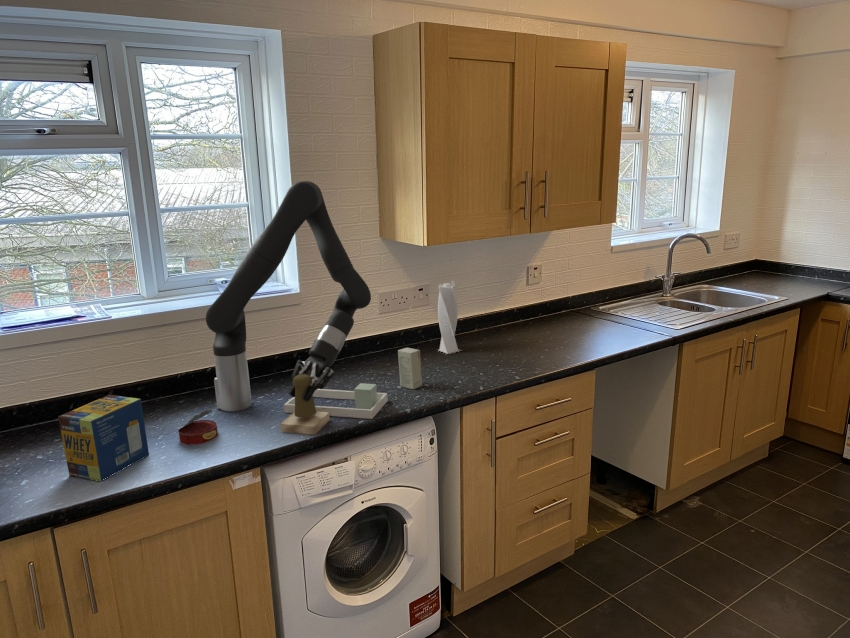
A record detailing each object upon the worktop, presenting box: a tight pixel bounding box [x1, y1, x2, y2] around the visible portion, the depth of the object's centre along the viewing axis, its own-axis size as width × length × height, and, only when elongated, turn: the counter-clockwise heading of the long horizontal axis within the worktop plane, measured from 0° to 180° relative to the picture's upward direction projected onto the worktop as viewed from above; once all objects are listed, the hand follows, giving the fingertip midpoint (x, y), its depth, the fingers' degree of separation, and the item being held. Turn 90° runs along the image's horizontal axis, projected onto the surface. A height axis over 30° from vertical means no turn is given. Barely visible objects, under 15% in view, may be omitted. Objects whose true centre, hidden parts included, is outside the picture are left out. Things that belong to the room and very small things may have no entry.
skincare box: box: [397, 347, 423, 390], centre depth 200 cm, size 6×4×12 cm
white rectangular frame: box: [283, 388, 388, 420], centre depth 186 cm, size 27×14×2 cm, turn 75°
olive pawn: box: [292, 373, 316, 417], centre depth 171 cm, size 6×6×11 cm
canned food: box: [177, 409, 219, 446], centre depth 168 cm, size 11×10×10 cm
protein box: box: [57, 394, 150, 482], centre depth 152 cm, size 10×15×16 cm
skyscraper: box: [437, 279, 463, 355], centre depth 234 cm, size 8×8×28 cm
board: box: [279, 411, 331, 436], centre depth 173 cm, size 10×10×2 cm
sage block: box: [353, 382, 378, 410], centre depth 183 cm, size 5×5×7 cm
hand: (298, 397), depth 170 cm, fingers closed on olive pawn, 5 cm apart
